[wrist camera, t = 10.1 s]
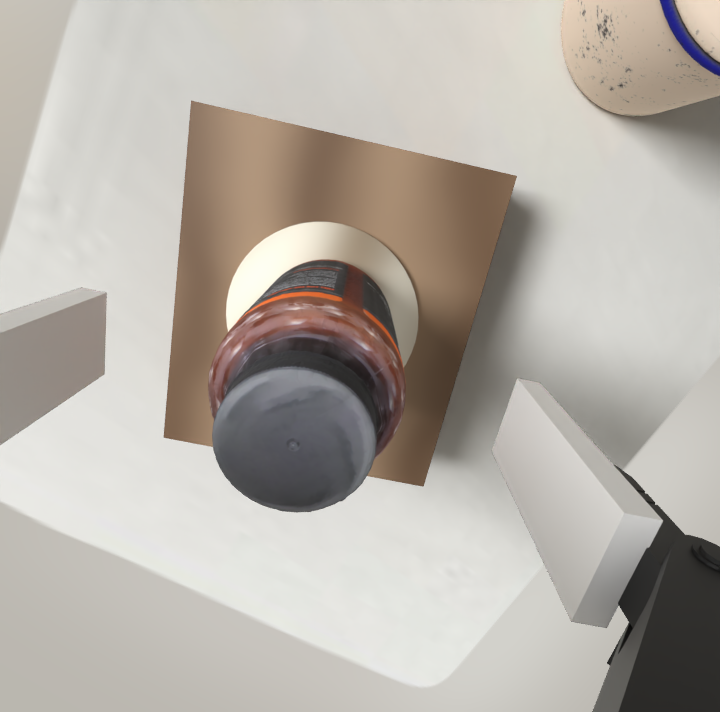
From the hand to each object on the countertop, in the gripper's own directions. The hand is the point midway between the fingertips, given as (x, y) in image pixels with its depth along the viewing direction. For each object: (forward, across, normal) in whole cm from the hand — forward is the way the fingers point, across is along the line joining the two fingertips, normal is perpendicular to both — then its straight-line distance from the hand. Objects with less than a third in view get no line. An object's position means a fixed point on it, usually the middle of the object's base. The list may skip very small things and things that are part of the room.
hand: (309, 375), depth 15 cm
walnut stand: (+13, 0, 0) cm, 13 cm away
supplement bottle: (+8, 0, 0) cm, 8 cm away
